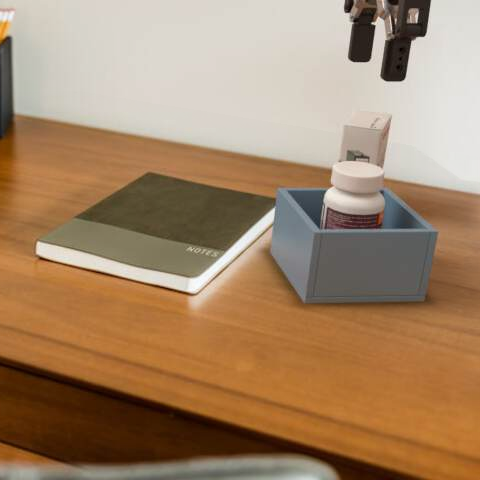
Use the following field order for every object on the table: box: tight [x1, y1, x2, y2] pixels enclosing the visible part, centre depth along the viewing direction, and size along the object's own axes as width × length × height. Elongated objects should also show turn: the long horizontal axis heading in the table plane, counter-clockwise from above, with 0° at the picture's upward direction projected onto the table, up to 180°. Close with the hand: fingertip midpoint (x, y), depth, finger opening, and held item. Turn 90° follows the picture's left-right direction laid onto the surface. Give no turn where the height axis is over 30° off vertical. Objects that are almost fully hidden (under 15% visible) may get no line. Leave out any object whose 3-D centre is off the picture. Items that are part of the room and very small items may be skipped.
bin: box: [269, 187, 439, 304], centre depth 94 cm, size 13×13×8 cm
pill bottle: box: [320, 161, 385, 229], centre depth 93 cm, size 6×6×11 cm
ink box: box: [338, 109, 393, 170], centre depth 113 cm, size 9×5×12 cm, turn 157°
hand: (374, 70), depth 87 cm, fingers open, 8 cm apart
